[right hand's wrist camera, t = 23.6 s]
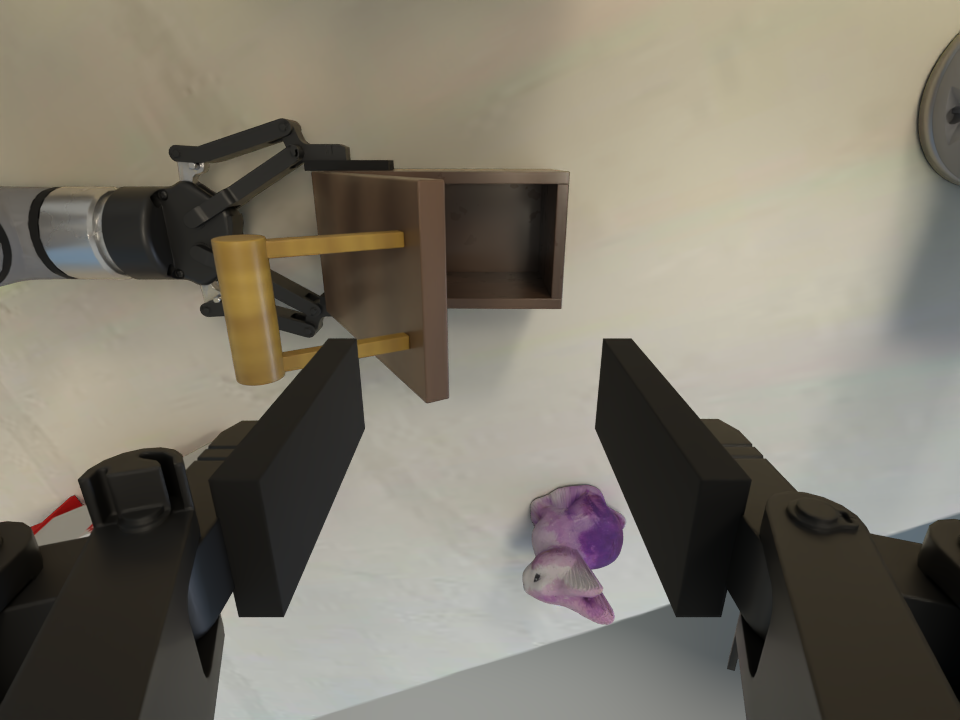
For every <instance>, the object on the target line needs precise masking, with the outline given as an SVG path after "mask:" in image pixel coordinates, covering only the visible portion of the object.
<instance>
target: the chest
mask: <svg viewBox="0 0 960 720" xmlns="http://www.w3.org/2000/svg"><path fill="white" fill-rule="evenodd" d="M330 172H344V173H359V174H373V175H387V176H401V177H415V178H429V179H442V180H444V188H445V234H446V279H447V308H472V309H561V306H562V290H563V273H564V257H565V240H566V224H567V208H568V191H569V176H570V172H568V171H560V170H553V169H394V170H333V171H330Z"/></svg>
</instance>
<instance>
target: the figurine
mask: <svg viewBox="0 0 960 720" xmlns="http://www.w3.org/2000/svg"><path fill="white" fill-rule="evenodd" d="M531 520H532V523H533V524H534V526H535V527H534V529H533V532H532V546H533V549H534V553H535V555H536V557H535V559H534V560H533V561H532V562H531V564H530V565H528V566H527V568H526V569H525V570H524V572H523V585H524V590H525V591H526V593H528V594H529V595H531V596H533V597H534V598H536V599H538V600H540V601H543V602H545V603H549V604H555V605H561V606H565V607H567V608H569V609H571V610H573V611H575V612H577V613H579V614H580V615H582V616H584V617H586V618H588V619H590V620H592V621H593V622H596V623H598V624H606V625H608V624H611V623H612V622H613V621H614V618H615V616H614V612H613V609H612V608H611V606H610V604H609V603H608V601H607V600H606V598H605V596H604V595H603V593H602V591H603V587H602V585H601V584H600V582H599V581H598V579H597V578H596V576H595V575H594V573H593V572H592V569H598V568H602V567H604V566H607V565H609V564H611V563H612V562H613V561H615V560H616V558H617V557H618V555H619V554H620V551H621V548H622V544H623V530H622V529H623V528H624V527H625V525H626V519H625V517H624V516H623V515H622V514H621V513H618V512H616V511H614V510H613V509H611V508H609V507H608V506H607V505H606V503H605V500H604V497H603V494H602V493H601V491H600V490H599V489H597V488H596V487H593V486H590V485H579V486H567V487H563V488H557V489H556V490H554V491H553V492H551V493H550V494H548V495H546V496H544V497H540V498H537V499H535V500H533V501H532V504H531Z"/></svg>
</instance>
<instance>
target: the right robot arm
mask: <svg viewBox="0 0 960 720" xmlns="http://www.w3.org/2000/svg"><path fill="white" fill-rule="evenodd" d="M919 137H920V142H921V146H922V149H923V152H924V155H925V157H926V159H927V161H928V162H929V163H930V165H931V166H932V168H933V169H934V170H935V171H936V172H937V173H938V174H939V175H940V176H942V177H943V178H945V179H946V180H948V181H950V182H952V183H954V184H957V185H960V33H959V34H958V35H957V36H956V37H955V38H954V40H953V41H952V42H951V43H950V44H949V46H948V47H947V48H946V50H945V51H944V52H943V54H942V55H941V57H940V58H939V60H938V62H937V63H936V65H935V67H934V69H933V71H932V73H931V75H930V77H929V79H928V82H927V84H926V87H925V90H924V93H923V96H922V100H921V105H920V110H919ZM364 429H365V423H364V412H363V401H362V390H361V379H360V368H359V357H358V346H357V339H328V340H327V341H326V342H325V343H324V344H323V346H322V347H321V348H320V349H319V350H318V352H317V353H316V354H315V355H314V356H313V357H312V359H311V360H310V361H309V362H308V363H307V364H306V366H305V367H304V368H303V369H302V370H301V371H300V373H299V374H298V375H297V376H296V377H295V378H294V380H293V381H292V382H291V383H290V384H289V386H288V387H287V388H286V389H285V390H284V391H283V393H282V394H281V395H280V396H279V397H278V398H277V400H276V401H275V402H274V403H273V404H272V405H271V407H270V408H269V409H268V410H267V411H266V412H265V414H264V415H263V416H262V417H261V418H260V419H259V421H241V422H239V423H237V424H235V425H234V426H232V427H230V428H228V429H226V430H225V431H223V432H221V433H220V434H219V435H218V436H217V437H216V439H215V440H214V441H213V442H212V443H211V444H210V445H209V446H208V449H205V450H204V451H203V452H202V453H201V454H200V455H199V456H198V457H197V461H194V462H193V463H192V464H191V465H190V466H189V467H188V468H187V469H186V468H185V464H184V460H183V456H182V454H180V453H179V452H177V451H176V450H174V449H168V448H161V447H159V448H145V449H139V450H135V451H130V452H126V453H122V454H120V455H117V456H114V457H112V458H109V459H106V460H104V461H102V462H100V463H99V464H97V465H95V466H94V467H92V468H90V469H88V470H87V471H86V472H85V473H84V474H83V475H82V476H81V477H80V478H79V479H78V482H79V485H80V488H81V491H82V494H83V497H84V500H85V503H86V506H87V509H88V512H89V515H90V518H91V521H92V524H93V527H94V528H93V530H92V532H91V534H90V535H89V536H87V537H82V538H77V539H72V540H67V541H62V542H57V543H52V544H47V545H42V546H38V544H37V541H36V538H35V536H34V533H33V531H32V528H31V527H29V526H28V525H26V524H24V523H23V522H9V521H6V522H0V720H214V713H215V706H216V698H217V690H218V683H219V675H220V667H221V660H222V652H223V644H224V637H225V634H224V627H223V622H222V618H221V614H220V613H221V611H222V610H223V608H224V606H225V604H226V603H227V601H228V599H229V597H230V596H231V594H232V592H233V593H234V598H235V602H236V607H237V611H238V615H239V617H284V615H285V613H286V611H287V608H288V606H289V604H290V601H291V599H292V597H293V595H294V592H295V590H296V588H297V585H298V583H299V581H300V578H301V576H302V574H303V571H304V569H305V567H306V564H307V562H308V560H309V557H310V555H311V553H312V550H313V548H314V546H315V543H316V541H317V539H318V536H319V534H320V532H321V529H322V527H323V525H324V522H325V520H326V518H327V515H328V513H329V511H330V509H331V506H332V504H333V502H334V499H335V497H336V495H337V492H338V490H339V488H340V485H341V483H342V481H343V478H344V476H345V474H346V471H347V469H348V467H349V464H350V462H351V460H352V457H353V455H354V453H355V450H356V448H357V446H358V443H359V441H360V439H361V436H362V434H363V432H364ZM595 430H596V432H597V434H598V436H599V439H600V441H601V443H602V446H603V448H604V450H605V453H606V455H607V457H608V460H609V462H610V464H611V467H612V469H613V471H614V474H615V476H616V478H617V481H618V483H619V485H620V488H621V490H622V492H623V495H624V497H625V499H626V502H627V504H628V506H629V509H630V511H631V513H632V516H633V518H634V520H635V522H636V525H637V527H638V529H639V532H640V534H641V536H642V539H643V541H644V543H645V546H646V548H647V550H648V553H649V555H650V557H651V560H652V562H653V564H654V567H655V569H656V571H657V574H658V576H659V578H660V581H661V583H662V585H663V588H664V590H665V592H666V595H667V597H668V599H669V601H670V604H671V606H672V608H673V611H674V613H675V615H676V617H721V615H722V611H723V606H724V602H725V598H726V593H727V590H728V591H729V593H730V595H731V596H732V598H733V600H734V601H735V603H736V605H737V607H738V608H739V610H740V614H739V618H738V622H737V626H736V630H735V634H734V639H733V643H732V647H731V651H730V655H729V660H728V667H727V669H730V670H733V671H735V667H736V663H737V660H738V659H739V666H740V673H741V681H742V689H743V696H744V704H745V712H746V719H747V720H960V520H957V519H946V520H937V521H936V522H934V523H933V524H931V525H930V526H929V528H928V531H927V533H926V536H925V539H924V541H923V544H920V543H915V542H910V541H905V540H900V539H895V538H890V537H885V536H880V535H875V534H871V533H869V531H868V529H867V527H866V526H865V525H864V523H863V522H862V521H861V520H860V519H859V517H858V516H857V515H855V514H854V513H852V512H851V511H849V510H848V509H847V508H845V507H844V506H842V505H840V504H838V503H835V502H833V501H831V500H829V499H826V498H824V497H821V496H817V495H813V494H809V493H805V492H798V491H797V490H796V489H795V488H794V487H793V486H792V485H791V484H790V483H789V482H788V481H787V480H786V479H785V478H784V477H783V476H782V475H781V474H780V473H779V472H778V471H777V470H776V469H775V468H774V467H773V465H772V464H771V463H770V462H769V461H768V460H767V459H763V455H762V454H761V453H760V452H759V451H758V450H757V449H756V448H755V447H752V444H751V443H750V442H749V441H748V439H747V438H746V437H745V436H744V435H743V434H742V433H741V432H740V431H739V430H737V429H735V428H733V427H732V426H730V425H728V424H726V423H725V422H723V421H721V420H719V419H700V418H699V417H698V416H697V415H696V414H695V412H694V411H693V410H692V409H691V408H690V407H689V405H688V404H687V403H686V402H685V401H684V400H683V398H682V397H681V396H680V395H679V394H678V393H677V391H676V390H675V389H674V388H673V387H672V386H671V384H670V383H669V382H668V381H667V380H666V378H665V377H664V376H663V375H662V374H661V373H660V371H659V370H658V369H657V368H656V367H655V366H654V364H653V363H652V362H651V361H650V360H649V359H648V357H647V356H646V355H645V354H644V353H643V352H642V350H641V349H640V348H639V347H638V346H637V344H636V343H635V342H634V341H633V340H632V339H603V346H602V357H601V368H600V379H599V390H598V401H597V412H596V423H595Z"/></svg>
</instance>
